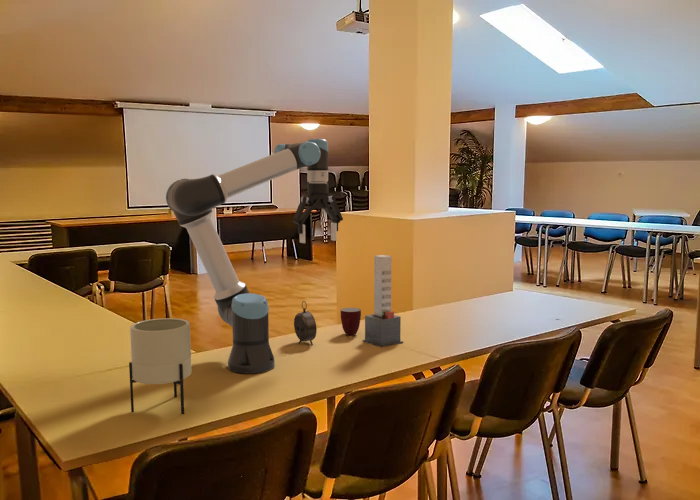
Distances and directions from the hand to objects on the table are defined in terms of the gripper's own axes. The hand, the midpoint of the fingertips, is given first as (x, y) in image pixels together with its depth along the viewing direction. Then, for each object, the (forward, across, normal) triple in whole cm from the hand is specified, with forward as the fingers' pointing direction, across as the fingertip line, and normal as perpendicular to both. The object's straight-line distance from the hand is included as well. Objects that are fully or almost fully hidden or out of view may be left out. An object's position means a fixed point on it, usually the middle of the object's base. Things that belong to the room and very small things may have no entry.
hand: (318, 241), depth 222 cm
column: (+31, +22, -10) cm, 39 cm away
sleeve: (+39, +22, -10) cm, 46 cm away
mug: (+39, +18, +5) cm, 43 cm away
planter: (+39, -68, -26) cm, 83 cm away
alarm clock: (+39, -3, +6) cm, 39 cm away
